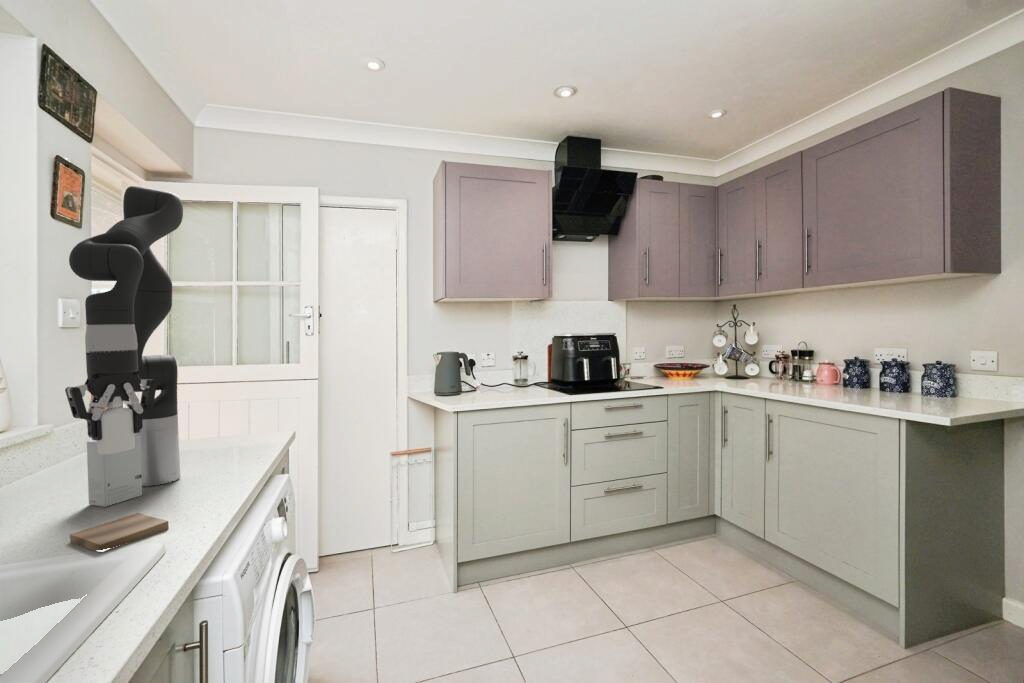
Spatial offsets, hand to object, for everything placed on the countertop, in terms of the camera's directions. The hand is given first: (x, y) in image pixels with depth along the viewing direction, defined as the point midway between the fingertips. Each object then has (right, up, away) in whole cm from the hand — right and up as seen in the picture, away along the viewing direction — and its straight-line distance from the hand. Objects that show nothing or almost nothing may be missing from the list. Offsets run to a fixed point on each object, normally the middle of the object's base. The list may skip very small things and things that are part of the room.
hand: (116, 435), depth 89 cm
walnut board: (0, -19, +1) cm, 19 cm away
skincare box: (-17, -19, +20) cm, 33 cm away
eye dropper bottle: (0, -3, 0) cm, 3 cm away
